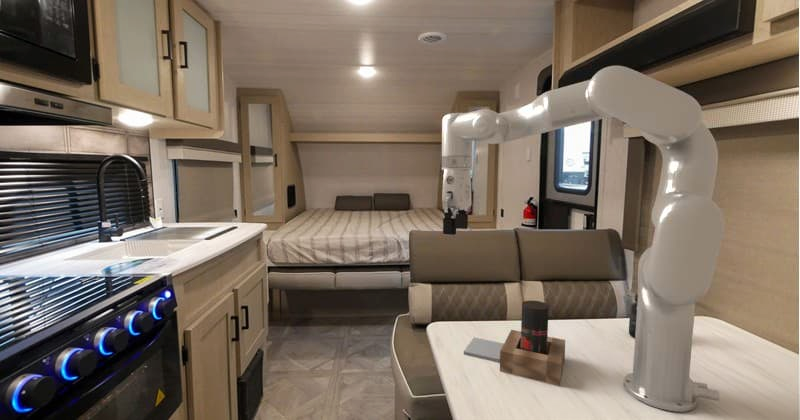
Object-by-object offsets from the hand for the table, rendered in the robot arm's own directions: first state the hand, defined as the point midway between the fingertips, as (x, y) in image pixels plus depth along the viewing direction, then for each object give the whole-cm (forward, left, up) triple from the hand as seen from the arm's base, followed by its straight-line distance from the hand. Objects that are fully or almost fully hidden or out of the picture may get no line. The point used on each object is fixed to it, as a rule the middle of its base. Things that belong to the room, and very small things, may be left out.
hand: (455, 231), depth 95 cm
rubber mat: (-8, -2, -31) cm, 32 cm away
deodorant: (-20, 0, -31) cm, 37 cm away
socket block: (-20, 0, -31) cm, 37 cm away
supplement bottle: (-45, -30, -31) cm, 62 cm away
